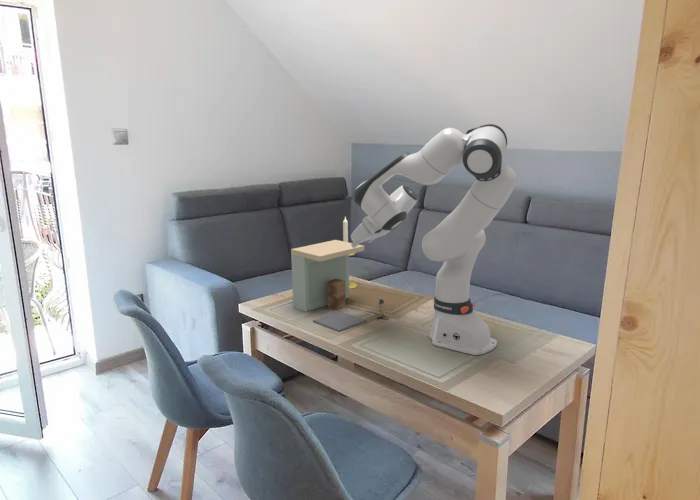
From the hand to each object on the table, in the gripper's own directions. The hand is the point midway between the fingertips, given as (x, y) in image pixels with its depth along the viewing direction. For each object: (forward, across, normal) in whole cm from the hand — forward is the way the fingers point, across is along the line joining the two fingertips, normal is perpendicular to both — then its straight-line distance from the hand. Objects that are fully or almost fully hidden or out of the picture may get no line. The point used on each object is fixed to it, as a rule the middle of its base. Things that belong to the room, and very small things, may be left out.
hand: (360, 243), depth 186 cm
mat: (+21, +11, +19) cm, 30 cm away
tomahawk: (+16, -9, +24) cm, 30 cm away
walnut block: (+28, 0, +11) cm, 30 cm away
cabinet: (+31, -1, +8) cm, 32 cm away
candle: (+39, -25, +1) cm, 46 cm away
